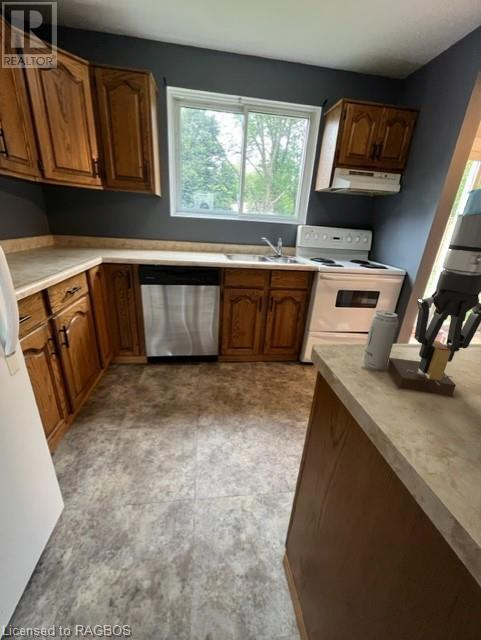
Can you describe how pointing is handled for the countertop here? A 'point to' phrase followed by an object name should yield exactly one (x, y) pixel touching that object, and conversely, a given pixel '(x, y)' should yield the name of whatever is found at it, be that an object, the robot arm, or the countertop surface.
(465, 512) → the countertop surface
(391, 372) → the plate
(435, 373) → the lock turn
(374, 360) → the energy drink can
